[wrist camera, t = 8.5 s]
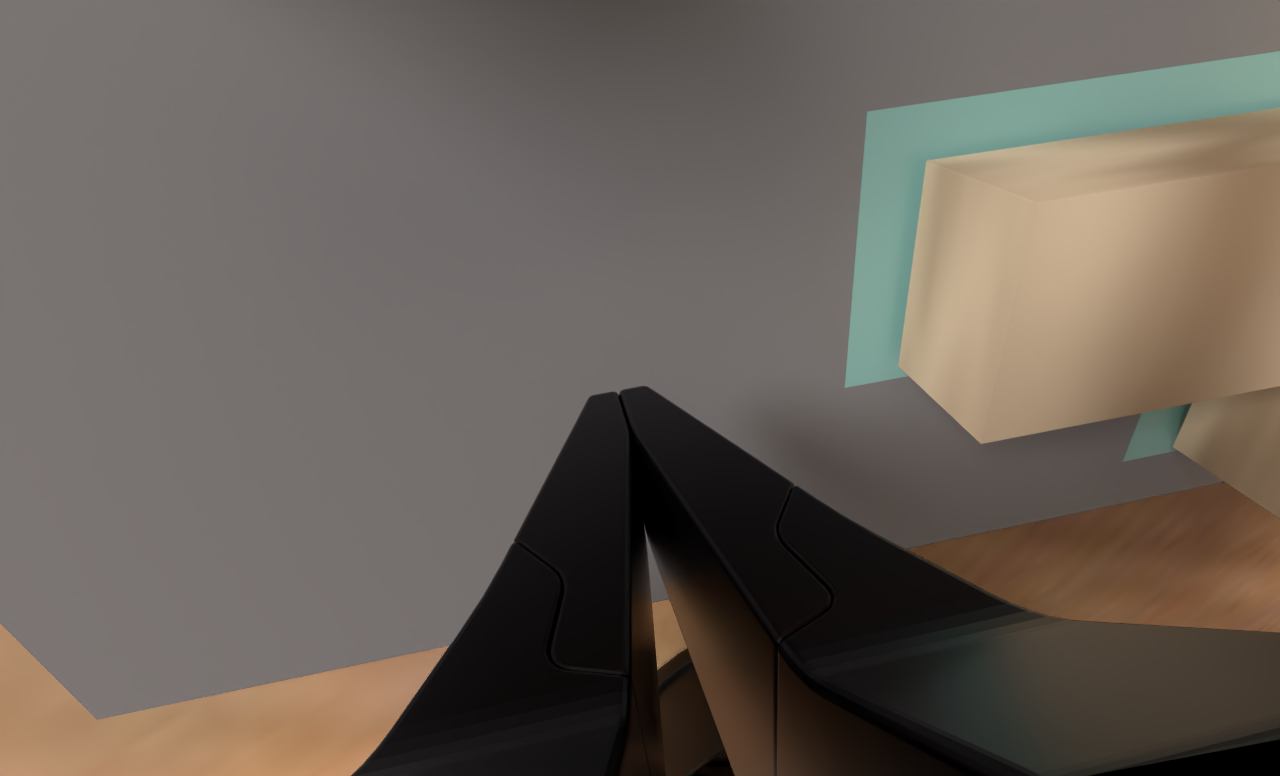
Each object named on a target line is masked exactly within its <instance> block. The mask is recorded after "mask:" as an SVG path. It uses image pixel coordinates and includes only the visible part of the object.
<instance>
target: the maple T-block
mask: <svg viewBox="0 0 1280 776" xmlns="http://www.w3.org/2000/svg"><path fill="white" fill-rule="evenodd" d="M898 367H900V368H901V369H902V370H903V371H904V372H905V373H906V374H907V375H908V376H909V377H910V378H911V379H912V380H913V381H914V382H916V383H917V384H918V385H919V386H920V387H921V388H922V389H923V390H924V391H925V392H926V393H927V394H928V395H929V396H930V397H931V398H933V399H934V400H935V401H936V402H937V403H938V404H939V405H940V406H941V407H942V408H943V409H944V410H945V411H946V412H947V413H949V414H950V415H951V416H952V417H953V418H954V419H955V420H956V421H957V422H958V423H959V424H960V425H961V426H962V427H963V428H964V429H966V430H967V431H968V432H969V433H970V434H971V435H972V436H973V437H974V438H975V439H976V440H977V441H978V442H979V443H980V444H984V443H989V442H994V441H999V440H1005V439H1010V438H1015V437H1020V436H1025V435H1030V434H1036V433H1041V432H1046V431H1051V430H1056V429H1061V428H1066V427H1072V426H1077V425H1082V424H1087V423H1092V422H1097V421H1103V420H1108V419H1113V418H1118V417H1123V416H1128V415H1134V414H1139V413H1144V412H1149V411H1154V410H1159V409H1164V408H1170V407H1175V406H1180V405H1185V404H1190V403H1192V404H1191V407H1190V409H1189V411H1188V414H1187V416H1186V418H1185V420H1184V423H1183V425H1182V427H1181V429H1180V432H1179V434H1178V436H1177V438H1176V441H1175V443H1174V445H1173V447H1174V448H1175V449H1177V450H1178V451H1180V452H1181V453H1183V454H1184V455H1186V456H1187V457H1189V458H1190V459H1191V460H1193V461H1194V462H1196V463H1197V464H1199V465H1200V466H1202V467H1203V468H1205V469H1206V470H1208V471H1209V472H1211V473H1212V474H1214V475H1215V476H1217V477H1218V478H1220V479H1221V480H1223V481H1224V482H1226V483H1227V484H1229V485H1230V486H1232V487H1233V488H1235V489H1236V490H1238V491H1239V492H1241V493H1242V494H1244V495H1245V496H1247V497H1248V498H1250V499H1251V500H1253V501H1254V502H1256V503H1257V504H1259V505H1260V506H1262V507H1263V508H1265V509H1266V510H1268V511H1269V512H1271V513H1272V514H1274V515H1275V516H1277V517H1278V518H1280V108H1275V109H1268V110H1261V111H1255V112H1248V113H1241V114H1235V115H1228V116H1221V117H1215V118H1208V119H1201V120H1194V121H1188V122H1181V123H1174V124H1168V125H1161V126H1154V127H1148V128H1141V129H1134V130H1128V131H1121V132H1114V133H1108V134H1101V135H1094V136H1088V137H1081V138H1074V139H1067V140H1061V141H1054V142H1047V143H1041V144H1034V145H1027V146H1021V147H1014V148H1007V149H1001V150H994V151H987V152H981V153H974V154H967V155H960V156H954V157H947V158H940V159H934V160H927V161H926V167H925V175H924V182H923V189H922V197H921V204H920V211H919V218H918V226H917V233H916V240H915V248H914V255H913V262H912V269H911V277H910V284H909V291H908V299H907V306H906V313H905V321H904V328H903V335H902V342H901V350H900V357H899V364H898Z"/></svg>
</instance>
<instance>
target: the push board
mask: <svg viewBox="0 0 1280 776" xmlns="http://www.w3.org/2000/svg"><path fill="white" fill-rule="evenodd" d="M1275 108H1280V0H0V623H1V624H2V625H3V626H4V627H5V628H6V629H7V630H8V631H9V632H10V633H11V634H12V635H13V636H14V637H15V638H16V639H17V640H18V641H19V642H20V643H21V644H22V645H23V646H24V647H25V648H26V649H27V650H28V651H29V652H30V653H31V654H32V655H33V656H34V657H35V658H36V659H37V660H38V661H39V662H40V663H41V664H42V665H43V666H44V667H45V668H46V669H47V670H48V671H49V672H50V673H51V674H52V675H53V676H54V677H55V678H56V679H57V680H58V681H59V682H60V683H61V684H62V685H63V686H64V687H65V688H66V689H67V690H68V691H69V692H70V693H71V694H72V695H73V696H74V697H75V698H76V699H77V700H78V701H79V702H80V703H81V704H82V705H83V706H84V707H85V708H86V709H87V710H88V711H89V712H90V713H91V714H92V715H93V716H94V717H95V718H96V719H97V720H98V719H102V718H107V717H112V716H117V715H121V714H126V713H131V712H136V711H140V710H145V709H150V708H155V707H159V706H164V705H169V704H174V703H178V702H183V701H188V700H193V699H197V698H202V697H207V696H212V695H216V694H221V693H226V692H231V691H235V690H240V689H245V688H250V687H254V686H259V685H264V684H269V683H273V682H278V681H283V680H287V679H292V678H297V677H302V676H306V675H311V674H316V673H321V672H325V671H330V670H335V669H340V668H344V667H349V666H354V665H359V664H363V663H368V662H373V661H378V660H382V659H387V658H392V657H397V656H401V655H406V654H411V653H416V652H420V651H425V650H430V649H435V648H439V647H444V646H449V645H451V643H452V642H453V640H454V639H455V637H456V636H457V635H458V633H459V632H460V630H461V628H462V627H463V625H464V624H465V622H466V621H467V619H468V618H469V616H470V615H471V613H472V612H473V610H474V609H475V607H476V606H477V604H478V603H479V601H480V600H481V598H482V597H483V595H484V593H485V591H486V590H487V588H488V586H489V584H490V583H491V581H492V579H493V577H494V576H495V574H496V572H497V570H498V569H499V567H500V565H501V563H502V561H503V559H504V557H505V556H506V554H507V552H508V550H509V548H510V546H511V544H513V543H514V539H515V537H516V535H517V533H518V531H519V529H520V527H521V526H522V524H523V522H524V520H525V518H526V516H527V514H528V512H529V510H530V508H531V507H532V505H533V503H534V501H535V499H536V497H537V495H538V493H539V491H540V489H541V487H542V486H543V484H544V482H545V480H546V478H547V476H548V474H549V472H550V470H551V468H552V466H553V465H554V463H555V461H556V459H557V457H558V455H559V453H560V451H561V449H562V447H563V445H564V444H565V442H566V440H567V438H568V436H569V434H570V432H571V430H572V428H573V426H574V425H575V423H576V421H577V419H578V417H579V415H580V413H581V411H582V409H583V407H584V405H585V404H586V402H587V400H588V398H589V397H590V396H592V395H596V394H601V393H607V392H612V391H614V392H617V393H618V395H619V393H620V391H621V390H623V389H628V388H634V387H639V386H648V387H650V388H651V389H653V390H654V391H656V392H657V393H659V394H660V395H662V396H663V397H665V398H666V399H668V400H669V401H671V402H672V403H674V404H675V405H677V406H678V407H680V408H681V409H683V410H684V411H686V412H687V413H689V414H690V415H692V416H693V417H695V418H696V419H698V420H699V421H701V422H702V423H704V424H706V425H707V426H709V427H710V428H712V429H713V430H715V431H716V432H718V433H719V434H721V435H722V436H724V437H725V438H727V439H728V440H730V441H731V442H733V443H734V444H736V445H737V446H739V447H740V448H742V449H743V450H745V451H746V452H748V453H749V454H751V455H752V456H754V457H755V458H757V459H758V460H760V461H761V462H763V463H764V464H766V465H767V466H769V467H770V468H772V469H773V470H775V471H776V472H778V473H779V474H781V475H783V476H784V477H786V478H787V479H789V480H790V481H792V482H793V483H794V485H795V486H800V487H801V488H803V489H804V490H806V491H807V492H809V493H810V494H812V495H813V496H815V497H816V498H818V499H819V500H821V501H822V502H824V503H826V504H827V505H829V506H831V507H832V508H834V509H835V510H837V511H839V512H840V513H842V514H843V515H845V516H847V517H848V518H850V519H852V520H853V521H855V522H857V523H859V524H861V525H862V526H864V527H866V528H868V529H870V530H871V531H873V532H875V533H877V534H879V535H881V536H882V537H884V538H886V539H888V540H890V541H891V542H893V543H895V544H897V545H899V546H901V547H903V548H905V549H909V548H914V547H918V546H923V545H928V544H933V543H937V542H942V541H947V540H952V539H956V538H961V537H966V536H971V535H975V534H980V533H985V532H990V531H994V530H999V529H1004V528H1009V527H1013V526H1018V525H1023V524H1028V523H1032V522H1037V521H1042V520H1047V519H1051V518H1056V517H1061V516H1066V515H1070V514H1075V513H1080V512H1084V511H1089V510H1094V509H1099V508H1103V507H1108V506H1113V505H1118V504H1122V503H1127V502H1132V501H1137V500H1141V499H1146V498H1151V497H1156V496H1160V495H1165V494H1170V493H1175V492H1179V491H1184V490H1189V489H1194V488H1198V487H1203V486H1208V485H1213V484H1217V483H1222V482H1224V481H1223V480H1221V479H1220V478H1218V477H1217V476H1215V475H1214V474H1212V473H1211V472H1209V471H1208V470H1206V469H1205V468H1203V467H1202V466H1200V465H1199V464H1197V463H1196V462H1194V461H1193V460H1191V459H1190V458H1189V457H1187V456H1186V455H1184V454H1183V453H1181V452H1180V451H1178V450H1177V449H1175V448H1174V447H1173V445H1174V443H1175V441H1176V438H1177V436H1178V434H1179V432H1180V429H1181V427H1182V425H1183V423H1184V420H1185V418H1186V416H1187V414H1188V411H1189V409H1190V407H1191V404H1192V403H1190V404H1185V405H1180V406H1175V407H1170V408H1164V409H1159V410H1154V411H1149V412H1144V413H1139V414H1134V415H1128V416H1123V417H1118V418H1113V419H1108V420H1103V421H1097V422H1092V423H1087V424H1082V425H1077V426H1072V427H1066V428H1061V429H1056V430H1051V431H1046V432H1041V433H1036V434H1030V435H1025V436H1020V437H1015V438H1010V439H1005V440H999V441H994V442H989V443H984V444H980V443H979V442H978V441H977V440H976V439H975V438H974V437H973V436H972V435H971V434H970V433H969V432H968V431H967V430H966V429H964V428H963V427H962V426H961V425H960V424H959V423H958V422H957V421H956V420H955V419H954V418H953V417H952V416H951V415H950V414H949V413H947V412H946V411H945V410H944V409H943V408H942V407H941V406H940V405H939V404H938V403H937V402H936V401H935V400H934V399H933V398H931V397H930V396H929V395H928V394H927V393H926V392H925V391H924V390H923V389H922V388H921V387H920V386H919V385H918V384H917V383H916V382H914V381H913V380H912V379H911V378H910V377H909V376H908V375H907V374H906V373H905V372H904V371H903V370H902V369H901V368H900V367H898V364H899V357H900V350H901V342H902V335H903V328H904V321H905V313H906V306H907V299H908V291H909V284H910V277H911V269H912V262H913V255H914V248H915V240H916V233H917V226H918V218H919V211H920V204H921V197H922V189H923V182H924V175H925V167H926V161H927V160H934V159H940V158H947V157H954V156H960V155H967V154H974V153H981V152H987V151H994V150H1001V149H1007V148H1014V147H1021V146H1027V145H1034V144H1041V143H1047V142H1054V141H1061V140H1067V139H1074V138H1081V137H1088V136H1094V135H1101V134H1108V133H1114V132H1121V131H1128V130H1134V129H1141V128H1148V127H1154V126H1161V125H1168V124H1174V123H1181V122H1188V121H1194V120H1201V119H1208V118H1215V117H1221V116H1228V115H1235V114H1241V113H1248V112H1255V111H1261V110H1268V109H1275ZM644 528H645V527H644ZM645 535H646V531H645ZM646 542H647V551H648V562H649V575H650V587H651V599H652V603H653V602H658V601H662V600H667V599H669V596H668V594H667V591H666V588H665V586H664V583H663V580H662V578H661V575H660V572H659V569H658V567H657V564H656V561H655V559H654V556H653V553H652V550H651V547H650V544H649V541H648V538H647V535H646Z"/></svg>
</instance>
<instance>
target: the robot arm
mask: <svg viewBox="0 0 1280 776" xmlns="http://www.w3.org/2000/svg"><path fill="white" fill-rule="evenodd" d="M644 527H645V528H644ZM645 531H646V535H647V538H648V541H649V544H650V547H651V550H652V553H653V556H654V559H655V561H656V564H657V567H658V569H659V572H660V575H661V578H662V580H663V583H664V586H665V588H666V591H667V594H668V596H669V599H670V602H671V605H672V607H673V610H674V613H675V615H676V618H677V621H678V624H679V626H680V629H681V632H682V634H683V637H684V640H685V642H686V645H687V648H688V651H689V653H690V656H691V659H692V661H693V664H694V667H695V669H696V672H697V675H698V678H699V680H700V683H701V686H702V688H703V691H704V694H705V696H706V699H707V702H708V705H709V707H710V710H711V713H712V715H713V718H714V721H715V723H716V726H717V729H718V732H719V734H720V737H721V740H722V742H723V745H724V748H725V750H726V753H727V756H728V759H729V761H730V764H731V767H732V769H733V772H734V775H735V776H1280V633H1276V632H1259V631H1243V630H1226V629H1209V628H1192V627H1175V626H1158V625H1141V624H1124V623H1107V622H1090V621H1078V620H1069V619H1063V618H1058V617H1052V616H1048V615H1044V614H1041V613H1037V612H1034V611H1031V610H1028V609H1025V608H1023V607H1020V606H1017V605H1015V604H1012V603H1010V602H1008V601H1006V600H1004V599H1001V598H999V597H997V596H995V595H993V594H991V593H989V592H987V591H985V590H983V589H981V588H980V587H978V586H976V585H974V584H972V583H970V582H968V581H966V580H964V579H962V578H960V577H958V576H957V575H955V574H953V573H951V572H949V571H947V570H945V569H943V568H941V567H939V566H937V565H935V564H934V563H932V562H930V561H928V560H926V559H924V558H922V557H920V556H918V555H916V554H914V553H913V552H911V551H909V550H907V549H905V548H903V547H901V546H899V545H897V544H895V543H893V542H891V541H890V540H888V539H886V538H884V537H882V536H881V535H879V534H877V533H875V532H873V531H871V530H870V529H868V528H866V527H864V526H862V525H861V524H859V523H857V522H855V521H853V520H852V519H850V518H848V517H847V516H845V515H843V514H842V513H840V512H839V511H837V510H835V509H834V508H832V507H831V506H829V505H827V504H826V503H824V502H822V501H821V500H819V499H818V498H816V497H815V496H813V495H812V494H810V493H809V492H807V491H806V490H804V489H803V488H801V487H800V486H795V485H794V483H793V482H792V481H790V480H789V479H787V478H786V477H784V476H783V475H781V474H779V473H778V472H776V471H775V470H773V469H772V468H770V467H769V466H767V465H766V464H764V463H763V462H761V461H760V460H758V459H757V458H755V457H754V456H752V455H751V454H749V453H748V452H746V451H745V450H743V449H742V448H740V447H739V446H737V445H736V444H734V443H733V442H731V441H730V440H728V439H727V438H725V437H724V436H722V435H721V434H719V433H718V432H716V431H715V430H713V429H712V428H710V427H709V426H707V425H706V424H704V423H702V422H701V421H699V420H698V419H696V418H695V417H693V416H692V415H690V414H689V413H687V412H686V411H684V410H683V409H681V408H680V407H678V406H677V405H675V404H674V403H672V402H671V401H669V400H668V399H666V398H665V397H663V396H662V395H660V394H659V393H657V392H656V391H654V390H653V389H651V388H650V387H648V386H639V387H634V388H628V389H623V390H621V391H620V393H619V395H618V393H617V392H614V391H612V392H607V393H601V394H596V395H592V396H590V397H589V398H588V400H587V402H586V404H585V405H584V407H583V409H582V411H581V413H580V415H579V417H578V419H577V421H576V423H575V425H574V426H573V428H572V430H571V432H570V434H569V436H568V438H567V440H566V442H565V444H564V445H563V447H562V449H561V451H560V453H559V455H558V457H557V459H556V461H555V463H554V465H553V466H552V468H551V470H550V472H549V474H548V476H547V478H546V480H545V482H544V484H543V486H542V487H541V489H540V491H539V493H538V495H537V497H536V499H535V501H534V503H533V505H532V507H531V508H530V510H529V512H528V514H527V516H526V518H525V520H524V522H523V524H522V526H521V527H520V529H519V531H518V533H517V535H516V537H515V539H514V543H513V544H511V546H510V548H509V550H508V552H507V554H506V556H505V557H504V559H503V561H502V563H501V565H500V567H499V569H498V570H497V572H496V574H495V576H494V577H493V579H492V581H491V583H490V584H489V586H488V588H487V590H486V591H485V593H484V595H483V597H482V598H481V600H480V601H479V603H478V604H477V606H476V607H475V609H474V610H473V612H472V613H471V615H470V616H469V618H468V619H467V621H466V622H465V624H464V625H463V627H462V628H461V630H460V632H459V633H458V635H457V636H456V637H455V639H454V640H453V642H452V643H451V645H450V646H449V647H448V649H447V650H446V652H445V653H444V655H443V656H442V657H441V659H440V660H439V662H438V663H437V665H436V666H435V667H434V669H433V670H432V672H431V673H430V675H429V676H428V677H427V679H426V680H425V682H424V683H423V685H422V686H421V687H420V689H419V690H418V692H417V693H416V695H415V696H414V697H413V699H412V700H411V702H410V703H409V705H408V706H407V707H406V709H405V710H404V712H403V713H402V715H401V716H400V718H399V719H398V720H397V722H396V723H395V725H394V726H393V728H392V729H391V730H390V732H389V733H388V734H387V736H386V737H385V738H384V740H383V741H382V742H381V744H380V745H379V746H378V747H377V749H376V750H375V751H374V752H373V753H372V754H371V755H370V757H369V758H368V759H367V760H366V761H365V762H364V764H363V765H361V766H360V767H359V768H358V769H357V770H356V771H355V772H354V773H353V774H352V775H351V776H666V772H665V760H664V748H663V735H662V723H661V711H660V698H659V686H658V674H657V661H656V649H655V637H654V624H653V612H652V599H651V587H650V575H649V562H648V551H647V542H646V535H645Z"/></svg>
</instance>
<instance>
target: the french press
mask: <svg viewBox="0 0 1280 776" xmlns="http://www.w3.org/2000/svg"><path fill="white" fill-rule="evenodd" d="M657 674H658V686H659V698H660V711H661V723H662V735H663V748H664V760H665V772H666V776H735V775H734V772H733V769H732V767H718V766H707V765H705V764H707V763H708V762H709V761H711V760H712V759H714V758H716V757H718V756H720V755H722V754H724V753H725V752H726V750H725V748H724V745H723V742H722V740H721V737H720V734H719V732H718V729H717V726H716V723H715V721H714V718H713V715H712V713H711V710H710V707H709V705H708V702H707V699H706V696H705V694H704V691H703V688H702V686H701V683H700V680H699V678H698V675H697V672H696V669H695V667H694V664H693V661H692V659H691V656H690V653H689V651H688V649H686V650H685V651H683V652H681V653H679V654H678V655H677V656H675V657H674V658H673V659H672V660H670V661H669V662H668V663H666V664H665V665H664V666H663V667H661V668H660V669H659V670H658V671H657Z"/></svg>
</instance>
